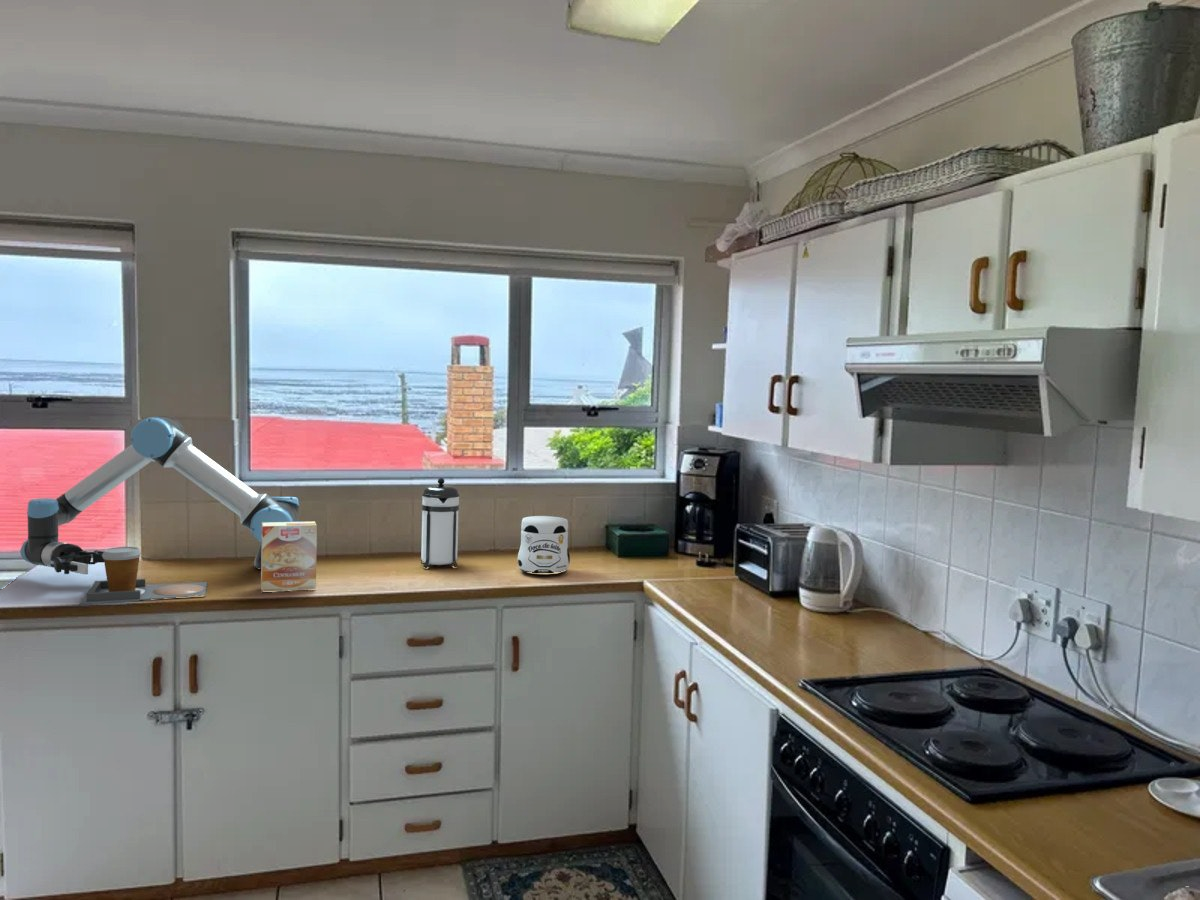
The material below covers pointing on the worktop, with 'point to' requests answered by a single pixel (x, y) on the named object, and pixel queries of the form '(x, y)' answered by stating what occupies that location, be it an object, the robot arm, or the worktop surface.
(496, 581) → the worktop surface
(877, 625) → the worktop surface
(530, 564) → the doce de leite jar
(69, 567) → the robot arm
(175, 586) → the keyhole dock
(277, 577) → the coffeecake box
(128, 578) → the disposable coffee cup
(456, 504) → the coffee press
